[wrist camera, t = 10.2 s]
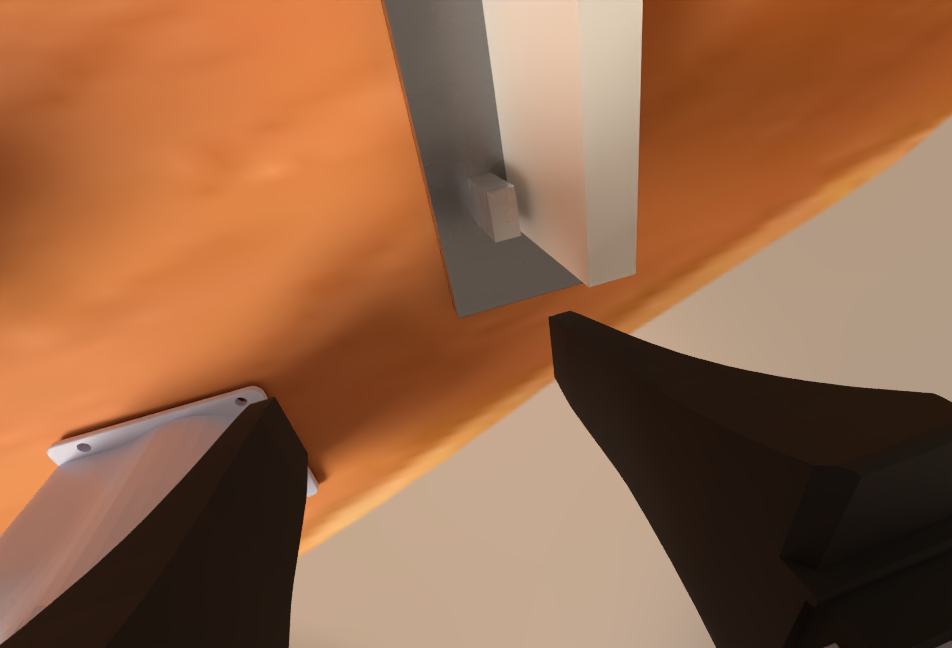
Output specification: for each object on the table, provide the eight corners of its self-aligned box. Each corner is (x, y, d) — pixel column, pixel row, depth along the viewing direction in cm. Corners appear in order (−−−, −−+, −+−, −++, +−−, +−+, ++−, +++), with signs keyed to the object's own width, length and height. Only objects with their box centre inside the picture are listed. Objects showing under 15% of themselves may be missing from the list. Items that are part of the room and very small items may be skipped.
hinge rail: (453, 307, 20) (473, 351, 17) (289, -384, 10) (250, -648, 7) (599, 266, 21) (647, 300, 18) (585, -403, 11) (692, -643, 7)
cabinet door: (513, 224, 18) (589, 287, 12) (457, -179, 12) (558, -471, 6) (561, 212, 18) (660, 267, 12) (532, -189, 12) (704, -476, 6)
